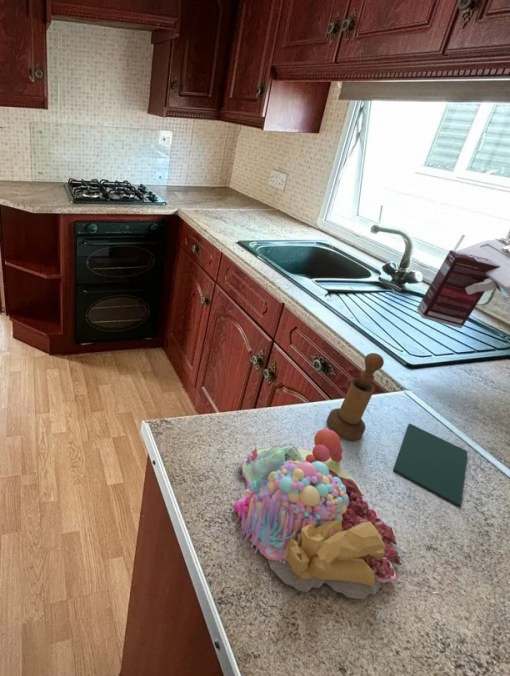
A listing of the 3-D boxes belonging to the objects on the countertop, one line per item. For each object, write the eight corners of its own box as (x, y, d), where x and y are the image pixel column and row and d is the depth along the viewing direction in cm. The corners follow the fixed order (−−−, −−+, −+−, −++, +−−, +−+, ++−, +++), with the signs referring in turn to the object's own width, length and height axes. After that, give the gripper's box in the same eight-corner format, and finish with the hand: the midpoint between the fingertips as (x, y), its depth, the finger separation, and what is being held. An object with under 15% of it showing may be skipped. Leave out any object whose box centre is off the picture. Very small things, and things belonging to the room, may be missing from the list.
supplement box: (454, 319, 96) (492, 259, 89) (461, 329, 92) (502, 267, 84) (414, 308, 98) (449, 248, 90) (420, 318, 94) (457, 256, 86)
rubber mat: (408, 424, 84) (409, 423, 83) (466, 452, 78) (467, 451, 78) (392, 470, 72) (393, 469, 72) (459, 507, 67) (460, 505, 67)
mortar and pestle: (321, 426, 81) (351, 352, 73) (333, 411, 85) (363, 340, 77) (355, 446, 77) (391, 371, 69) (366, 430, 81) (402, 357, 73)
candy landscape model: (432, 589, 55) (464, 548, 51) (277, 620, 50) (298, 578, 45) (322, 444, 76) (338, 407, 72) (206, 455, 71) (216, 416, 67)
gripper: (494, 225, 93) (429, 255, 99) (562, 260, 75) (479, 294, 81) (502, 246, 95) (439, 274, 101) (571, 286, 77) (489, 317, 83)
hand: (457, 284), depth 91 cm, fingers closed on supplement box, 5 cm apart
